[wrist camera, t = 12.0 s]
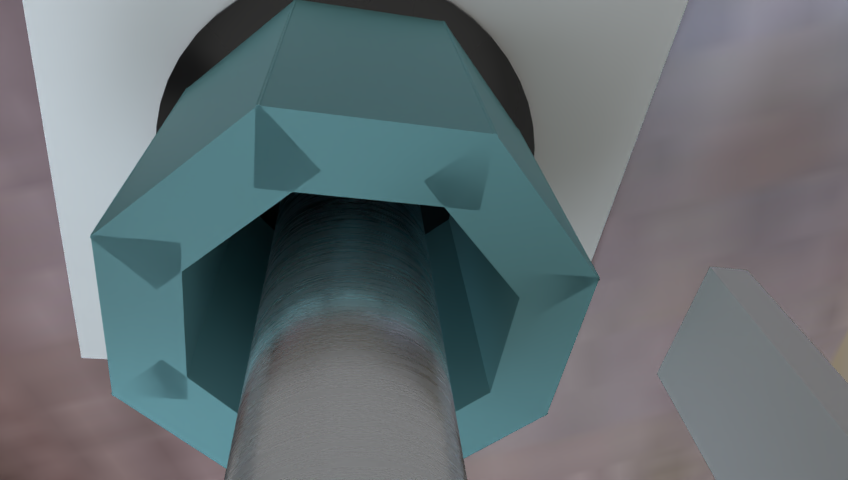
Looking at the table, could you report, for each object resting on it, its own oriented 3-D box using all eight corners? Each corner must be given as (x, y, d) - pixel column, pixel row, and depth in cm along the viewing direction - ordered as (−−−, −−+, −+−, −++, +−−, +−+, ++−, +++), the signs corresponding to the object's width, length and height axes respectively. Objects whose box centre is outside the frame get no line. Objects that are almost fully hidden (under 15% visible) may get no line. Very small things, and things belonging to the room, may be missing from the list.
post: (487, 318, 19) (689, 1065, 7) (169, 295, 17) (-188, 1187, 6) (576, 4, 14) (1523, 757, 3) (146, -65, 12) (-1899, 979, 1)
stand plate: (538, 361, 21) (545, 383, 20) (93, 334, 19) (81, 357, 18) (704, -106, 14) (726, -102, 13) (7, -245, 12) (-20, -251, 11)
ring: (472, 305, 18) (518, 489, 13) (193, 284, 17) (123, 480, 12) (543, 35, 14) (650, 151, 9) (181, -19, 13) (67, 81, 8)
